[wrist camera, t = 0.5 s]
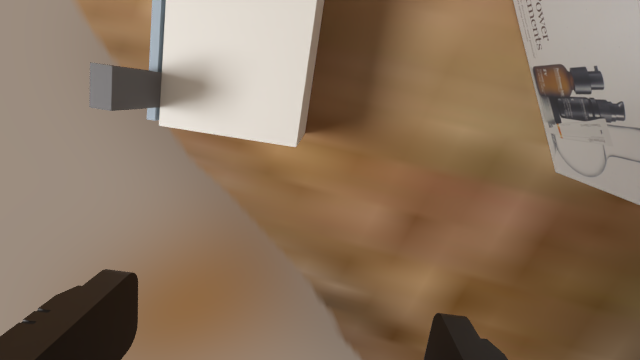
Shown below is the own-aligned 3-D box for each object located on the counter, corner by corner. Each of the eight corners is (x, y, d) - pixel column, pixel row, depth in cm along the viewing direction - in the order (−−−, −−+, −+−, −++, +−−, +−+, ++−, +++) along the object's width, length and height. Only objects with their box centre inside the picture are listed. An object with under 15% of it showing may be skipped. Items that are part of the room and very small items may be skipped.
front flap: (203, -41, 33) (92, -160, 17) (217, -38, 33) (117, -156, 17) (192, 112, 36) (89, 125, 20) (204, 114, 36) (110, 128, 21)
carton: (217, -39, 33) (171, -95, 23) (327, -21, 33) (326, -69, 23) (204, 117, 36) (158, 125, 26) (304, 133, 36) (296, 147, 27)
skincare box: (494, -40, 33) (643, -163, 17) (555, -66, 32) (768, -217, 16) (549, 177, 37) (710, 237, 21) (605, 157, 36) (811, 205, 21)
